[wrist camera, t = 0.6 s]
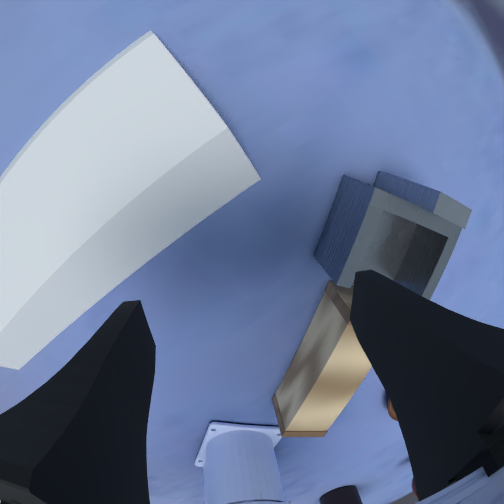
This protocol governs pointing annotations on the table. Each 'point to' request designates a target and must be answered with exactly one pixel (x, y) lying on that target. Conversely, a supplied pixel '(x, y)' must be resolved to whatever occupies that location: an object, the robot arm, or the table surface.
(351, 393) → the tan rectangular block
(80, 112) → the crown molding
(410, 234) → the bracket
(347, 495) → the bottle
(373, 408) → the table surface
